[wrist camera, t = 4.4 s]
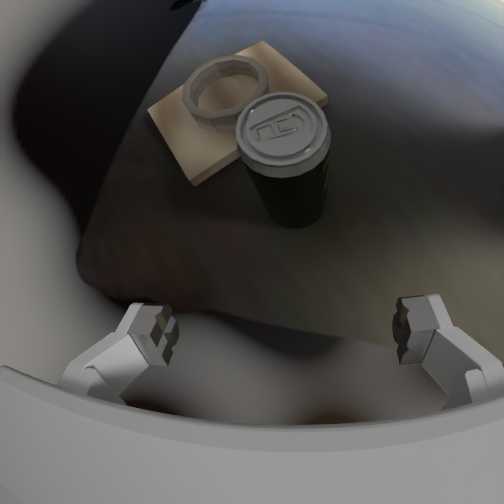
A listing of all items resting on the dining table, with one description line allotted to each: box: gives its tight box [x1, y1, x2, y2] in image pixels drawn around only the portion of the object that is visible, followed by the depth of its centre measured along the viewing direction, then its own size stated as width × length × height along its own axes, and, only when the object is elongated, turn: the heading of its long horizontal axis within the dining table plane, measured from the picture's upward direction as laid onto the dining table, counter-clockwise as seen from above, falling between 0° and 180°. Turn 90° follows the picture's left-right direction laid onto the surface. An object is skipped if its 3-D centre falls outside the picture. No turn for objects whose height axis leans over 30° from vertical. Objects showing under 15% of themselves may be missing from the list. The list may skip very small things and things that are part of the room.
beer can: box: [235, 92, 331, 229], centre depth 21 cm, size 5×5×12 cm
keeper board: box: [147, 41, 328, 187], centre depth 28 cm, size 16×12×4 cm
